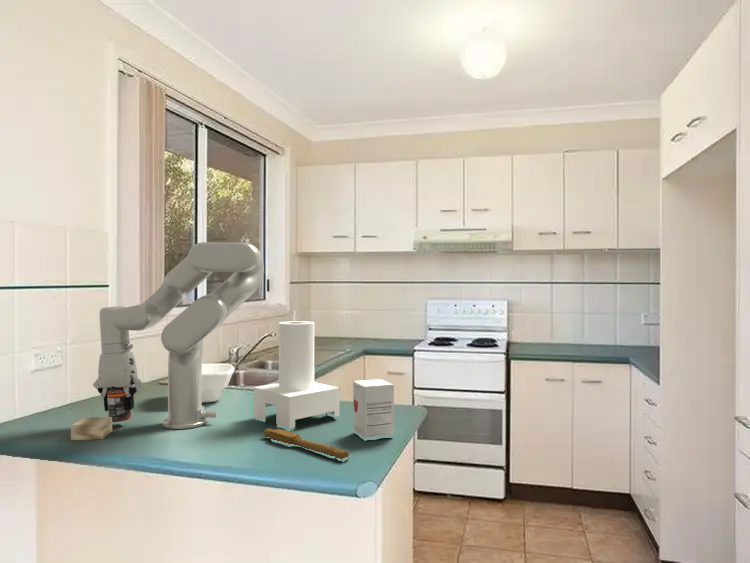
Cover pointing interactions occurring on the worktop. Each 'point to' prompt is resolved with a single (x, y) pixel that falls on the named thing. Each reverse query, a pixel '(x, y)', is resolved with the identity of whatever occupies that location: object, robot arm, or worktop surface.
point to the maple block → (91, 428)
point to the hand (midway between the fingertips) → (119, 409)
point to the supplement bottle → (117, 405)
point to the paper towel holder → (296, 380)
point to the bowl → (215, 380)
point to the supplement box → (373, 407)
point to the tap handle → (304, 442)
